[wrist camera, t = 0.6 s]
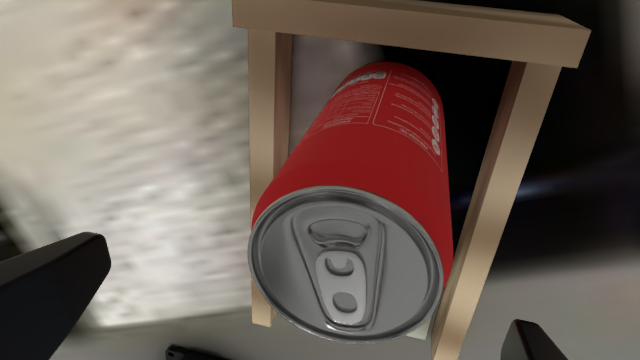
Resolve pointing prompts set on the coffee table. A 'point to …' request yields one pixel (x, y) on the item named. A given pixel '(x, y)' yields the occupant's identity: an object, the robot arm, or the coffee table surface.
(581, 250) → the coffee table surface
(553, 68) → the bay
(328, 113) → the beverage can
